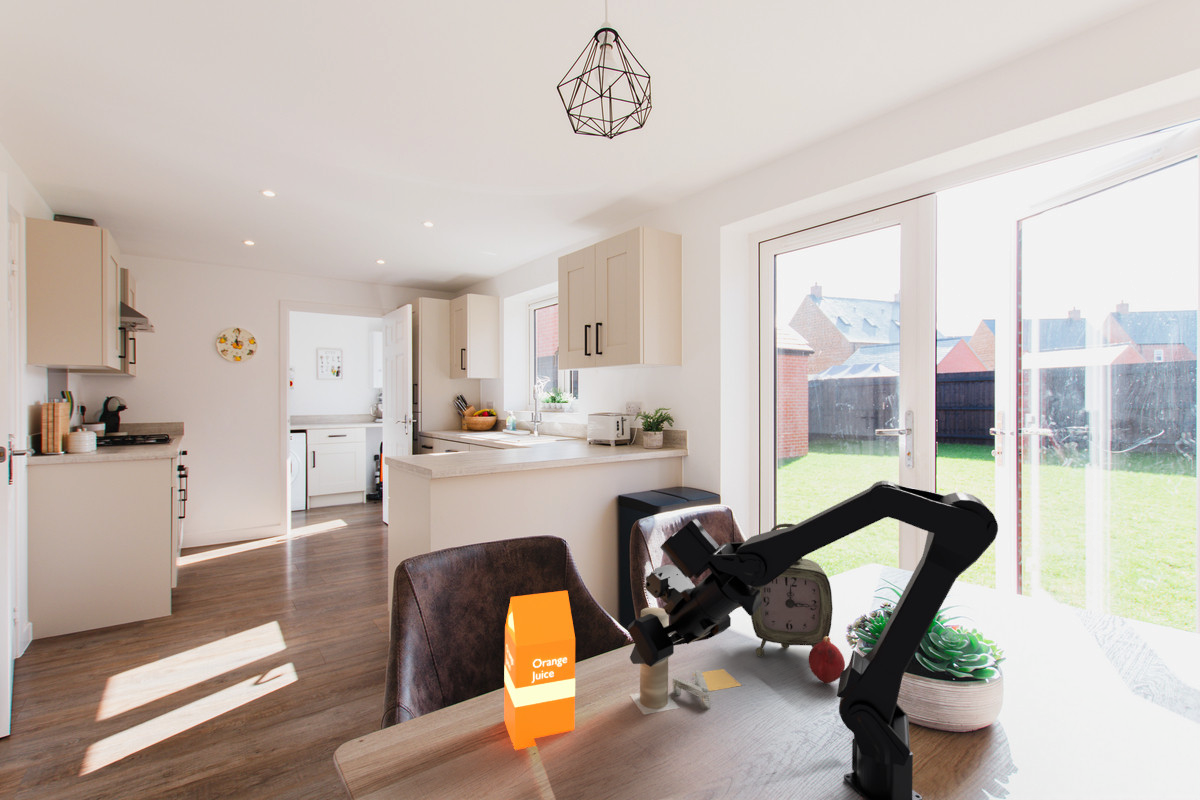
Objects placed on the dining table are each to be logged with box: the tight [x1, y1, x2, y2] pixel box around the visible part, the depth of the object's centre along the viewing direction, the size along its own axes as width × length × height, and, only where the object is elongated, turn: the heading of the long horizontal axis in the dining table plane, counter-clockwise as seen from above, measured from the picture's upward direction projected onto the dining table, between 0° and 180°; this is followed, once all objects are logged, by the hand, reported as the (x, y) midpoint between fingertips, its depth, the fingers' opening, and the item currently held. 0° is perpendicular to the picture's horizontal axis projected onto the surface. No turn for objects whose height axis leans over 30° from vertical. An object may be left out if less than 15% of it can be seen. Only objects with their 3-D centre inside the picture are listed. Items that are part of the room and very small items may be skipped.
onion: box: [807, 636, 846, 685], centre depth 97 cm, size 6×6×8 cm
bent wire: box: [671, 669, 712, 711], centre depth 90 cm, size 7×6×2 cm
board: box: [628, 668, 742, 716], centre depth 90 cm, size 14×20×1 cm
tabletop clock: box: [750, 523, 833, 657], centre depth 109 cm, size 14×9×25 cm, turn 80°
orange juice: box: [503, 590, 576, 751], centre depth 83 cm, size 8×9×20 cm
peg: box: [639, 606, 670, 709], centre depth 89 cm, size 4×4×14 cm
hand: (651, 651), depth 89 cm, fingers open, 9 cm apart
